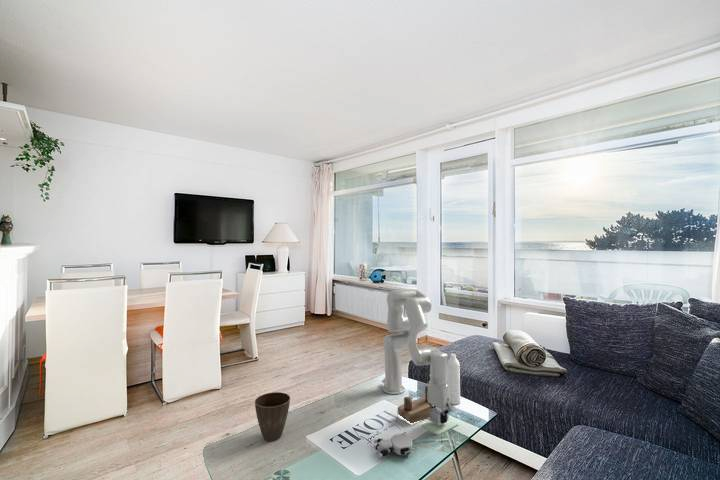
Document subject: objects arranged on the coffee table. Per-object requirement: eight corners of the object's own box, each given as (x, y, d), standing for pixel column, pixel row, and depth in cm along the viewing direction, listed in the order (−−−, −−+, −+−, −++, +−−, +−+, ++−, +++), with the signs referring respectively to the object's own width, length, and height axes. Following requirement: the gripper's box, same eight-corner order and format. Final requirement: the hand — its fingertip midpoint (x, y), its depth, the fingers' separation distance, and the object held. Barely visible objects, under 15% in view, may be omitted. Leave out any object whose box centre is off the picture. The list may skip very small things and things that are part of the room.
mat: (420, 426, 155) (420, 424, 155) (440, 416, 163) (440, 415, 163) (437, 435, 147) (437, 434, 147) (458, 425, 155) (458, 424, 155)
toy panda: (378, 465, 129) (417, 458, 131) (377, 453, 129) (416, 446, 131) (373, 446, 141) (408, 440, 143) (372, 435, 141) (407, 430, 143)
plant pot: (271, 424, 157) (271, 389, 158) (297, 432, 150) (297, 395, 151) (247, 440, 144) (247, 402, 144) (274, 450, 137) (274, 410, 137)
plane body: (397, 417, 162) (397, 392, 163) (426, 406, 174) (426, 382, 175) (411, 425, 155) (410, 398, 156) (440, 412, 167) (439, 388, 167)
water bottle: (458, 399, 182) (458, 352, 182) (461, 404, 175) (460, 356, 176) (442, 399, 182) (441, 352, 183) (444, 404, 176) (443, 355, 176)
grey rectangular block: (429, 420, 155) (429, 409, 155) (439, 416, 159) (439, 405, 159) (438, 425, 151) (438, 413, 151) (448, 420, 155) (448, 409, 155)
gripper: (419, 376, 160) (419, 415, 160) (448, 388, 146) (448, 430, 146) (430, 372, 164) (430, 410, 164) (459, 383, 151) (459, 425, 150)
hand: (439, 419), depth 155 cm, fingers closed on grey rectangular block, 5 cm apart
